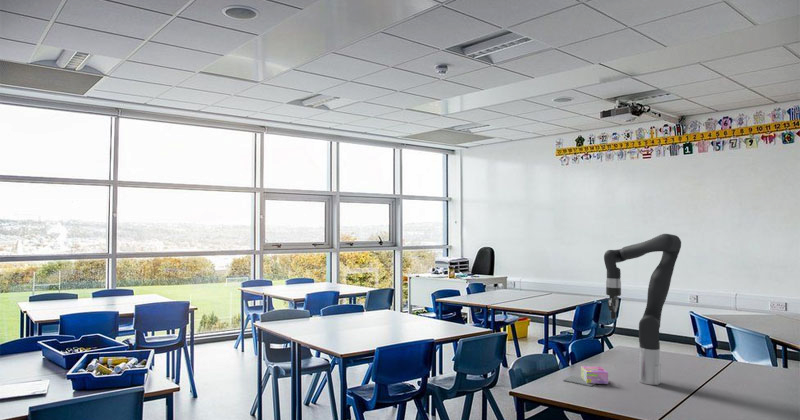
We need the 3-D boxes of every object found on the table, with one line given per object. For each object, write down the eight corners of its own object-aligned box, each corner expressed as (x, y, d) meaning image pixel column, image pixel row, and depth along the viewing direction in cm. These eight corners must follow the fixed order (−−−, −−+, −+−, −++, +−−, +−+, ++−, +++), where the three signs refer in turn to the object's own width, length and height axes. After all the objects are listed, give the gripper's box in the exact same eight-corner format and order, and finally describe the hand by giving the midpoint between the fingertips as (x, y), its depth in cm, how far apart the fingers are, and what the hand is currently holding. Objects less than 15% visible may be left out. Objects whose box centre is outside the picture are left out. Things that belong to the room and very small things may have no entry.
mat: (598, 382, 266) (598, 381, 266) (591, 386, 258) (591, 385, 258) (571, 377, 275) (571, 375, 275) (563, 381, 267) (563, 379, 267)
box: (601, 366, 273) (608, 372, 261) (601, 377, 273) (608, 384, 261) (580, 365, 274) (586, 371, 262) (580, 376, 274) (586, 383, 262)
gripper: (616, 288, 283) (616, 321, 282) (624, 286, 293) (624, 318, 293) (602, 286, 288) (602, 319, 287) (610, 285, 298) (610, 316, 297)
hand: (613, 318), depth 290 cm, fingers closed
